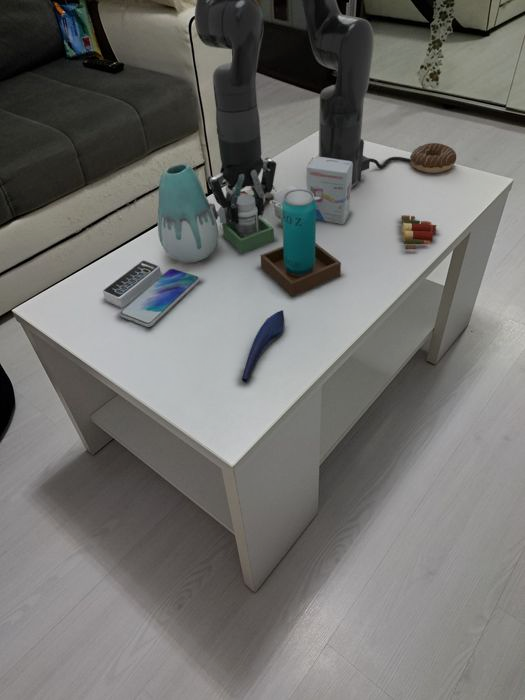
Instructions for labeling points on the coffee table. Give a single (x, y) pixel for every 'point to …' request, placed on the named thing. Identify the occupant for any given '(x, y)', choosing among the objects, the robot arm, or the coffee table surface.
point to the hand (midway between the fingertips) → (246, 217)
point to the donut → (433, 158)
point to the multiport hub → (132, 283)
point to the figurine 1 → (223, 211)
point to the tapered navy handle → (263, 340)
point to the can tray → (294, 285)
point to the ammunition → (416, 232)
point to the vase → (185, 215)
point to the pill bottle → (247, 216)
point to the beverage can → (299, 231)
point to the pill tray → (250, 241)
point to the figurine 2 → (281, 201)
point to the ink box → (330, 187)
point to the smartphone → (159, 297)
